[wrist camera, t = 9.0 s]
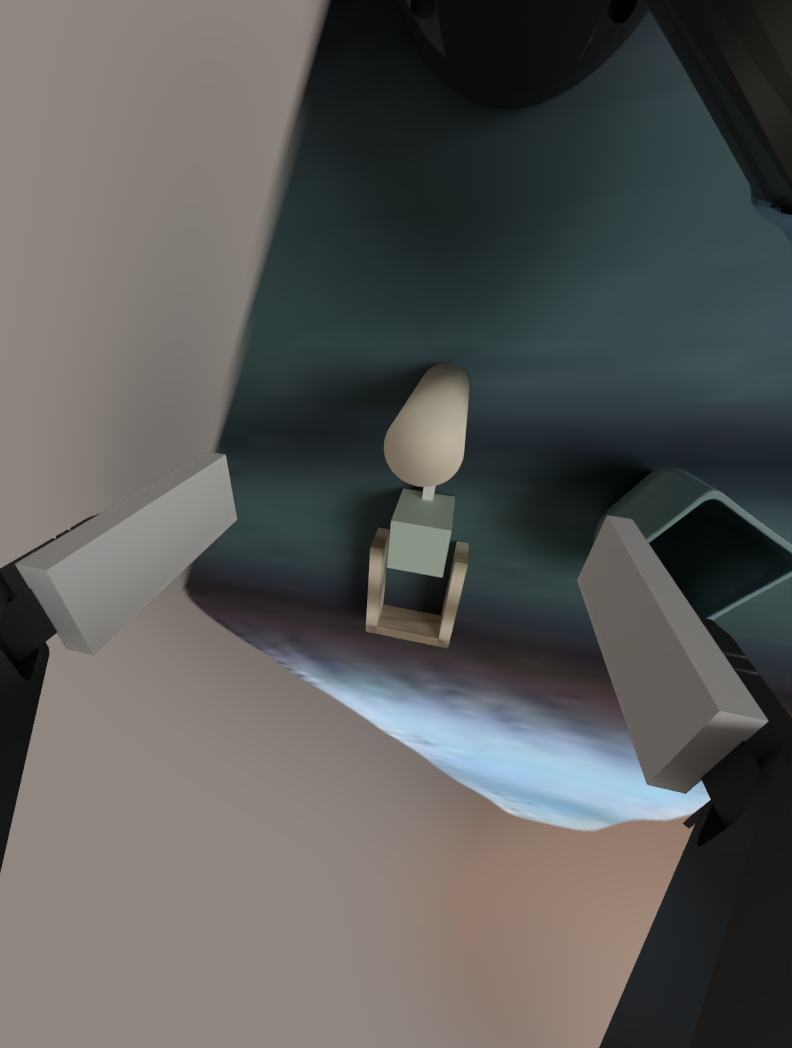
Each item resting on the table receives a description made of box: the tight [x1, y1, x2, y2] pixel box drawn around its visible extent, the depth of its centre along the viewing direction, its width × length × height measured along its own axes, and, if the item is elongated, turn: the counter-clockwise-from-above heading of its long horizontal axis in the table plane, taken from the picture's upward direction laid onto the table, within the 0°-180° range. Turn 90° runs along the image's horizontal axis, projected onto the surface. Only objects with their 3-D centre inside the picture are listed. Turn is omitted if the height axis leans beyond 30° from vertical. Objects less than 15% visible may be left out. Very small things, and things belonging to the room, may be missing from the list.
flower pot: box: [594, 467, 792, 620], centre depth 29 cm, size 9×9×9 cm
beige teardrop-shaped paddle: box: [384, 363, 469, 578], centre depth 28 cm, size 16×5×14 cm, turn 175°
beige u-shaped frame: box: [366, 528, 469, 648], centre depth 40 cm, size 12×9×4 cm
